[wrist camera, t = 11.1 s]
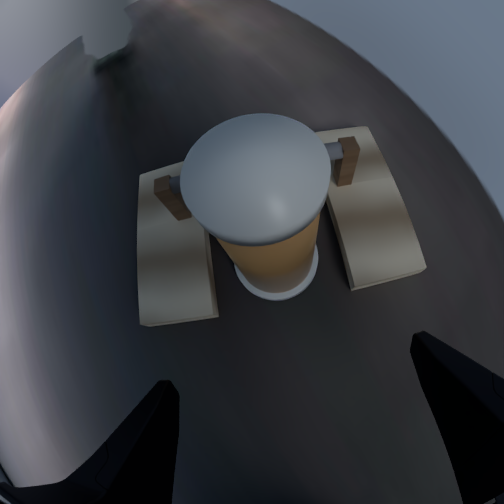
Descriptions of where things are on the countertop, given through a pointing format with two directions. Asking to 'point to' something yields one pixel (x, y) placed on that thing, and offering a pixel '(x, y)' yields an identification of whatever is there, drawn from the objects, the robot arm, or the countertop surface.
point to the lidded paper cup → (261, 198)
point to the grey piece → (342, 214)
